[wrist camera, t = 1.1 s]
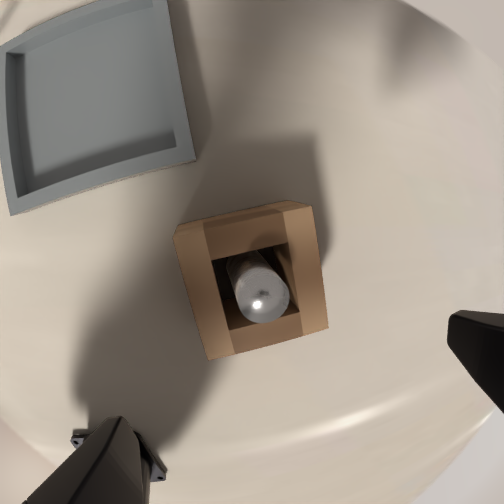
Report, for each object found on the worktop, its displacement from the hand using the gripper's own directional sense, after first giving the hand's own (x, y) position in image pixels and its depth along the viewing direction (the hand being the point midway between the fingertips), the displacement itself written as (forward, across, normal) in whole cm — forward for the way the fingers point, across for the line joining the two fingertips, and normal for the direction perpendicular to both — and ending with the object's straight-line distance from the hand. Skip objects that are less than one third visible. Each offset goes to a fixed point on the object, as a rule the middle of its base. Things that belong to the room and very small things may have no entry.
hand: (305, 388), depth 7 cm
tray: (+12, +6, -12) cm, 18 cm away
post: (+12, 0, 0) cm, 12 cm away
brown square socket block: (+12, 0, 0) cm, 12 cm away
